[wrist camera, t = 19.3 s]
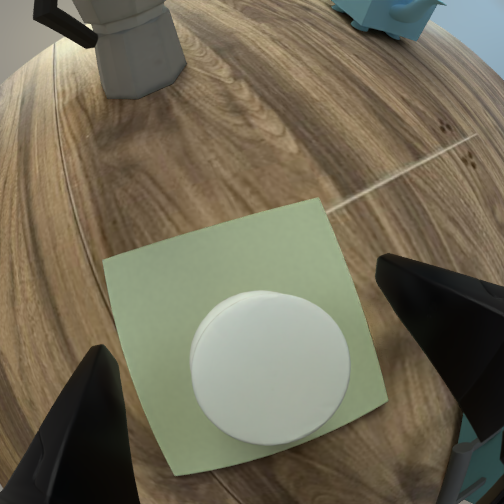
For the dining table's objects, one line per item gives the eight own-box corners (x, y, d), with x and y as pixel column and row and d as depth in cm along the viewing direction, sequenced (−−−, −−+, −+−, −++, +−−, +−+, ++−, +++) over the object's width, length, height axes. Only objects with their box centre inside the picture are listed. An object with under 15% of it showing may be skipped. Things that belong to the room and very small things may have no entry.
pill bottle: (264, 404, 13) (302, 480, 5) (188, 360, 13) (140, 399, 5) (308, 332, 14) (393, 333, 6) (235, 288, 15) (242, 240, 7)
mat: (384, 399, 14) (388, 401, 14) (176, 472, 12) (174, 476, 11) (316, 200, 17) (318, 197, 17) (105, 262, 15) (101, 259, 14)
